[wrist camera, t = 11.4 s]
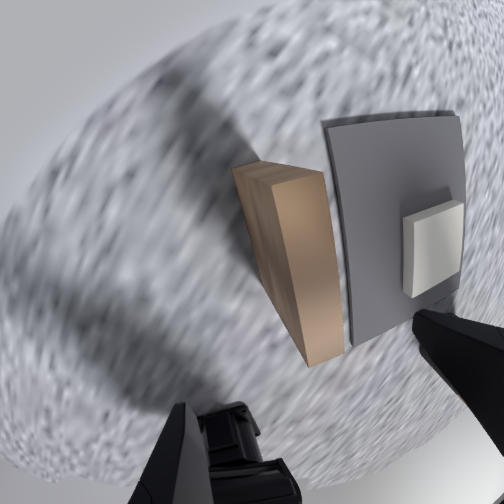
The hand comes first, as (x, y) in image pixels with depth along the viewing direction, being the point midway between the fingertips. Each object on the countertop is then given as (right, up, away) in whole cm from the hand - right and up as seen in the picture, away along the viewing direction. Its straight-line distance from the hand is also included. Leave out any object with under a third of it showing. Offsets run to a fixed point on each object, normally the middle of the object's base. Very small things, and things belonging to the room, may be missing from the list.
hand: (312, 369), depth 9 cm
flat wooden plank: (-1, +6, +10) cm, 12 cm away
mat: (+13, +6, +14) cm, 20 cm away
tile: (+12, +3, +13) cm, 18 cm away
